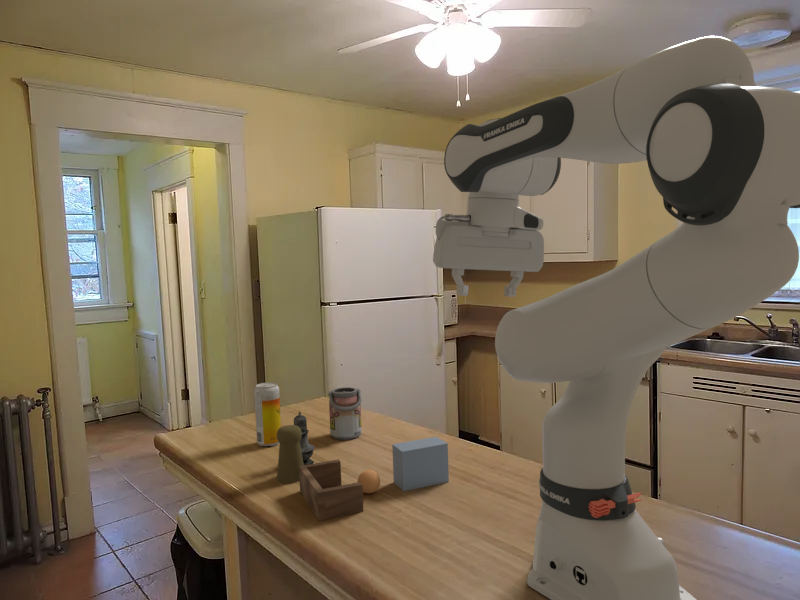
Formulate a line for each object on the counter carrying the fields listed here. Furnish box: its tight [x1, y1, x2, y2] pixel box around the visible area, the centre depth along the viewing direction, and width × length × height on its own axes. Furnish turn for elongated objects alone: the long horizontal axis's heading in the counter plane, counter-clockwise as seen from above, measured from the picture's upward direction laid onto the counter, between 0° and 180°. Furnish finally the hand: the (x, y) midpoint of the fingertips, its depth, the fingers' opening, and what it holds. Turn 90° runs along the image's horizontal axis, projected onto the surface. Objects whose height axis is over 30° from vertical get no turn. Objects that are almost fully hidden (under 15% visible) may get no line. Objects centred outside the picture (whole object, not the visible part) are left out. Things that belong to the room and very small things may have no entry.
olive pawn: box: [276, 424, 304, 484], centre depth 120 cm, size 6×6×11 cm
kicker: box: [391, 436, 450, 492], centre depth 115 cm, size 5×10×8 cm, turn 113°
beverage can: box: [327, 386, 363, 441], centre depth 146 cm, size 9×8×12 cm
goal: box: [299, 459, 364, 521], centre depth 108 cm, size 14×8×5 cm, turn 23°
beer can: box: [253, 382, 282, 448], centre depth 142 cm, size 6×6×15 cm
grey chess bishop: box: [293, 411, 315, 465], centre depth 128 cm, size 6×6×12 cm
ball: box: [357, 469, 381, 495], centre depth 111 cm, size 4×4×4 cm
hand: (486, 295), depth 101 cm, fingers open, 8 cm apart
